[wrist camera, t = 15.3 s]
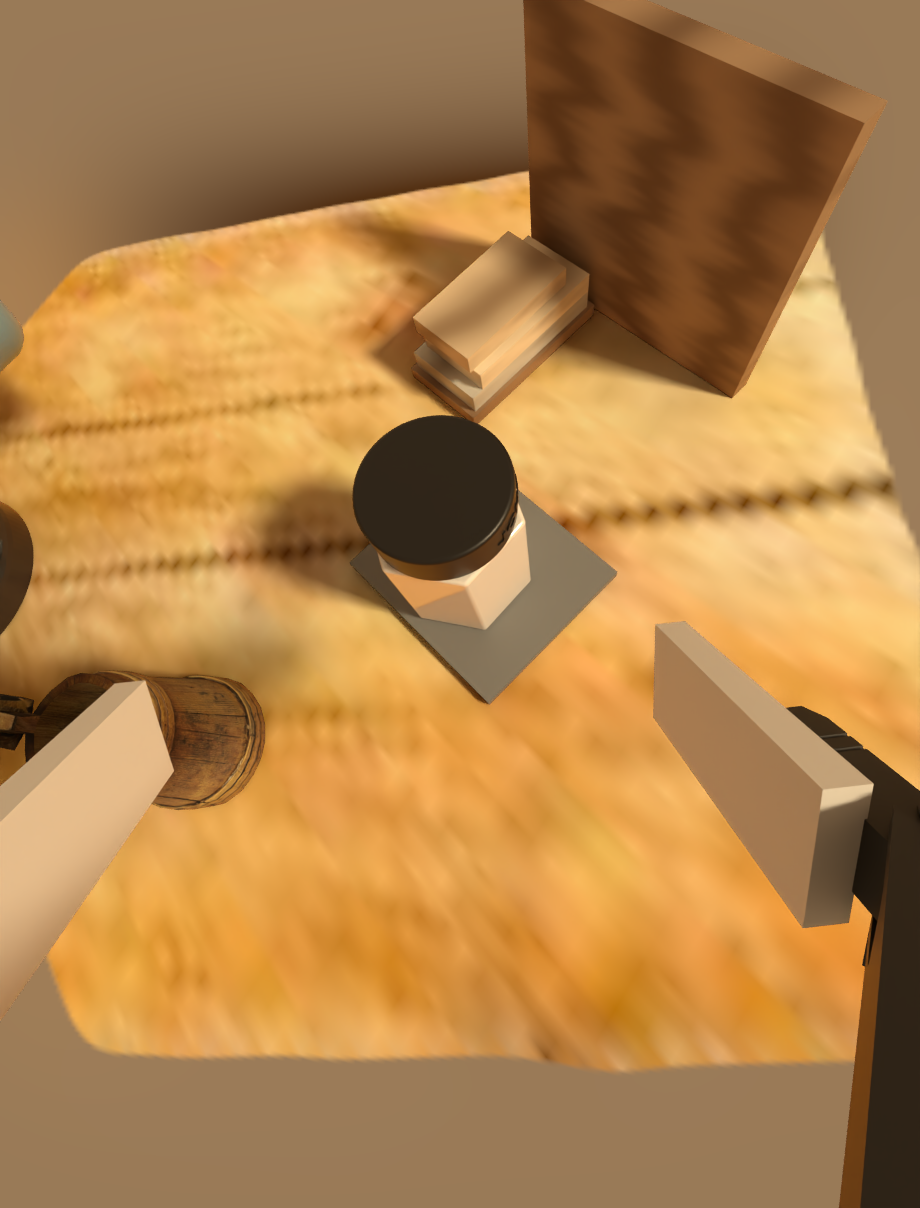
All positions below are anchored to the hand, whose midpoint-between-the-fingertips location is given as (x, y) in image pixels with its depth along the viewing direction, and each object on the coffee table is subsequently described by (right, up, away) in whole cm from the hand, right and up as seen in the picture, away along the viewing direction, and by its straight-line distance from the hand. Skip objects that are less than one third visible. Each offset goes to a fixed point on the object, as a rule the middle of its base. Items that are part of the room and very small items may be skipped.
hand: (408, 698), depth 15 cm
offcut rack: (+10, +19, +28) cm, 35 cm away
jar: (+2, +5, +24) cm, 25 cm away
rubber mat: (+3, +5, +25) cm, 25 cm away
